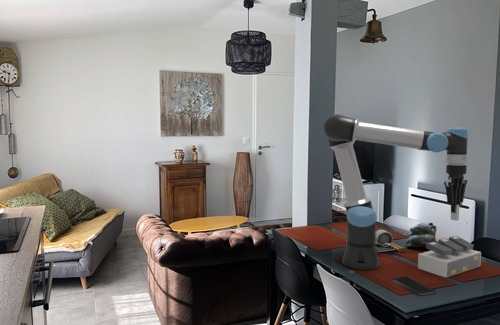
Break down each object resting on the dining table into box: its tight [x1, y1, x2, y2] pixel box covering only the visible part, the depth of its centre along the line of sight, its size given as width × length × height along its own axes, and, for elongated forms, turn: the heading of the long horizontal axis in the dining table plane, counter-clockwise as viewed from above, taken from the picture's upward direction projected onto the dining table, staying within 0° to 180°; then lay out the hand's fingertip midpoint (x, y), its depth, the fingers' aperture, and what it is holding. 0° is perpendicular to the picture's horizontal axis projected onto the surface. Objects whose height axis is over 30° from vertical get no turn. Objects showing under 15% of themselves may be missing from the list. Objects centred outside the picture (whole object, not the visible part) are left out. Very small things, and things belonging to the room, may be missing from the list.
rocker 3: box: [448, 235, 475, 251], centre depth 163 cm, size 8×5×2 cm, turn 31°
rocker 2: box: [437, 237, 463, 254], centre depth 159 cm, size 8×5×2 cm, turn 31°
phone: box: [391, 275, 437, 297], centre depth 140 cm, size 8×1×15 cm
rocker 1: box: [426, 241, 453, 256], centre depth 156 cm, size 8×5×2 cm, turn 31°
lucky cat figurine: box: [405, 222, 438, 249], centre depth 188 cm, size 15×12×14 cm
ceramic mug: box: [375, 229, 394, 246], centre depth 191 cm, size 11×8×8 cm
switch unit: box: [417, 249, 482, 278], centre depth 160 cm, size 24×12×8 cm, turn 121°
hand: (454, 219), depth 165 cm, fingers closed
